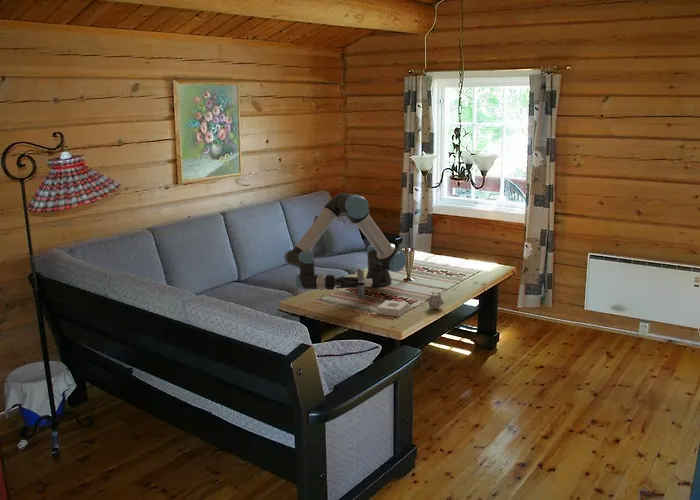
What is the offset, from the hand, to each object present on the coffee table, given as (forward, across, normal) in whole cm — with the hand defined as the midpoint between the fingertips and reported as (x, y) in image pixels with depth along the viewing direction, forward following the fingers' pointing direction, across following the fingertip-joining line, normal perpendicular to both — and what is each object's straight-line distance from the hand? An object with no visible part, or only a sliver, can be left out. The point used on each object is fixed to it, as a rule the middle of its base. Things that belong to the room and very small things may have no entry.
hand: (371, 282), depth 342 cm
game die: (+31, -6, -16) cm, 35 cm away
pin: (-5, 0, -8) cm, 10 cm away
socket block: (+11, 0, -15) cm, 18 cm away
